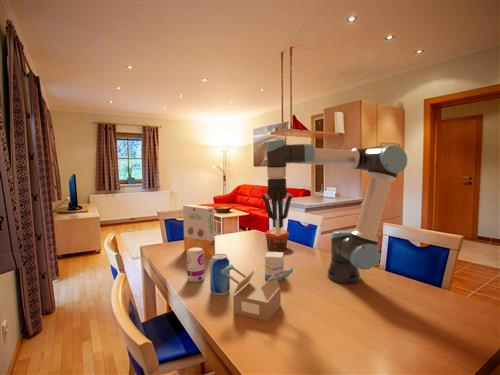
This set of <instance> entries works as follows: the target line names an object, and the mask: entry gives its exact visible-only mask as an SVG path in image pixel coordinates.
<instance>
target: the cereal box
mask: <svg viewBox="0 0 500 375" xmlns="http://www.w3.org/2000/svg"><path fill="white" fill-rule="evenodd" d="M182 215H183V217H182V218H183V220H182V221H183V243H184V244H183V248H184V251H183V252H186V253H187V251H188V249H189V248H193V247H200V248H202V249H203V251H204V259H208V258H212V256H213V255H215V254H216V240H215V238H216V237H215V236H216V234H215V232H216V231H215V230H216V229H215V227H216V226H215V225H216V224H215V207H213V206H206V205H205V206H204V205H198V204H183V205H182Z"/></svg>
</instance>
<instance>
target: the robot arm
mask: <svg viewBox="0 0 500 375" xmlns="http://www.w3.org/2000/svg"><path fill="white" fill-rule="evenodd" d="M314 146H315V145H313V144H312V143H301V144H300V143H295V144H293V143H292V144H287V143H286V141H285V139H282V138H280V139H279V138H278V139H277V138H275V139H269V140H267V142H266V150H265V151H266V164H267V165H266V167H267V168H266V170H267V172H266V174H267V178H268V179H267V190H266V193H264V194H263V195H261V198H262V200H263V201H264V206H265V210H266V212H267V217H268V219H272V225H273V228H274V230H276V236H280V235H281V230H282V228H283V227H284V220H285V219H287V218H288V216H289V211H290V206H291V201H292V199H293V198H294V195H293V194H291V193H289V192H288V189H287V179H286V177H287V169H286V168H287V167H286V166H287V165H286V164H298V165H299V164H300V165H301V164H302V165H305V164H306V165H320V166H338V167H349V168H350V169H351V170H361V171H366V172H367V174H368V176H369V180H368V184H367V188H366V192H365V195H364V198H363V202H362V206H361V208H360V211H359V216H358V220H357V223H356V226H355V229H354V230H334V231H333V232H332V233H331V238H330V239H331V250H330V251H331V252H330V253H331V259H330V264H329V266H328V268H327V278H328V279H329V280H331V281H333V282H336V283H338V284H346V285H350V284H351V285H352V284H356V283H358V282H360V280H361V274H360V270H365V271H366V270H367V271H368V270H371V269H373V268H375V267H376V266H377V265H378V263H379V262H380V259H381V251H380V249H379V248H378V244H379V238H378V237H377V233H378V230H379V226H380V223H381V219H382V216H383V214H384V210H385V206H386V203H387V199H388V196H389V195H388V194H389V192H390V188H391V184H392V182H394V181H396V180H397V178H398V174H399V173H401V172H402V171H404V170H405V169H406V167H407V165H408V155H407V153H406V152H405V150H404V149H403V148H402V147H400V146H399V145H396V144H386V145H378V146H377V145H376V146H371V147H364V148H352V149H351V150H349V149H348V150H347V149H333V148H319V147H314ZM269 198H270V200H271V203H270V200H269ZM285 198H286V201H285V206H284V204H283V203H284V199H285Z"/></svg>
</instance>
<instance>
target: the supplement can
mask: <svg viewBox="0 0 500 375" xmlns="http://www.w3.org/2000/svg"><path fill="white" fill-rule="evenodd" d="M186 270H187V271H186V273H187V275H186V276H187V277H186V278H187V280H188V281H189V282H190V283H199V282H202V281H203V280H204V279H205V257H204V251H203V249H202V248H200V247H193V248H189V249H188V251H187V252H186Z"/></svg>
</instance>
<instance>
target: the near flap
mask: <svg viewBox="0 0 500 375" xmlns="http://www.w3.org/2000/svg"><path fill="white" fill-rule="evenodd" d="M293 272H294V268H293V267H292V266H291V267H290V266H289V267H288V268H287V269H285V270H284V271H282V272H279V273H276V274H274V275H273V276H272V277H271V278H270V279H269V280H266V282H264V284H262V285H263V286H262V287H261V289H262V291H263V293H264V296H265V298H266V300H267V301H268V299H269V298H270V297H271V296H272V295H273V294H274V292H275V291H276V290H277V289H278V288H280V287H281V286H280V283H279V281H277V279H279V278H282V277H283V278H288V277H289V276H290V275H291V274H292V273H293ZM282 273H284V275H281V276H278V277H276V275H279V274H282Z"/></svg>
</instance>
